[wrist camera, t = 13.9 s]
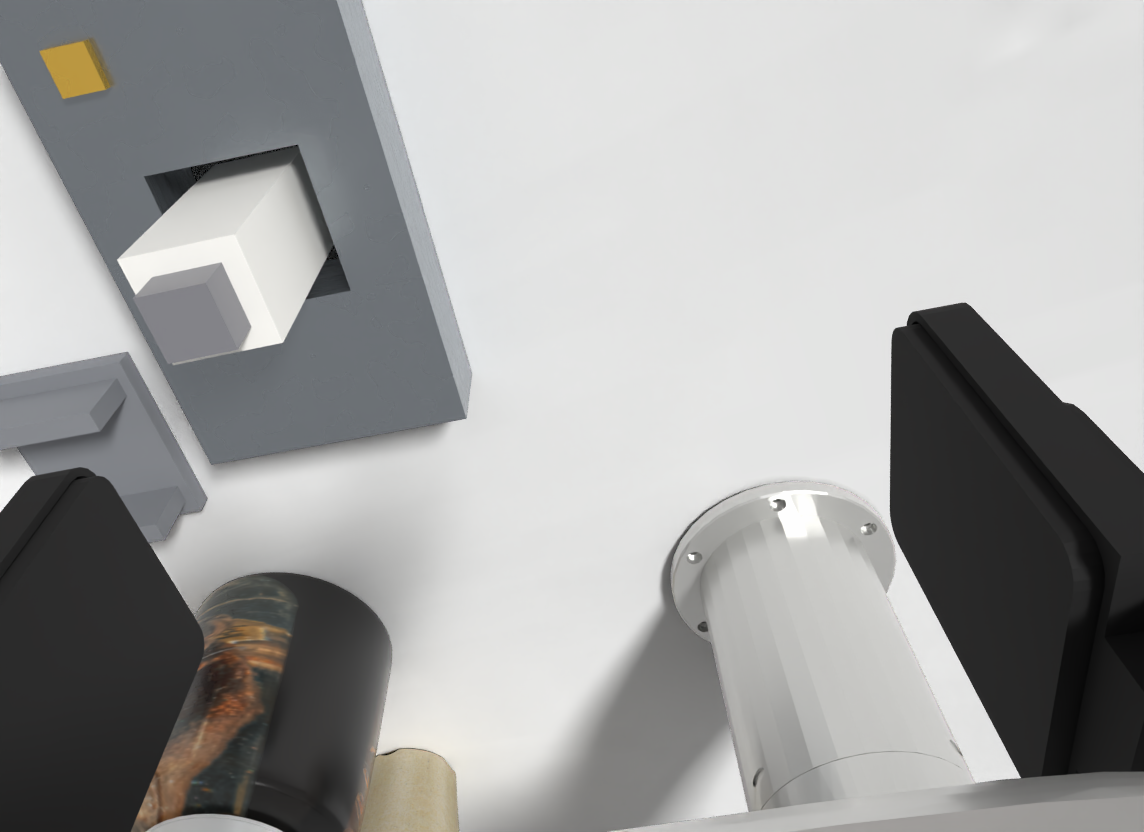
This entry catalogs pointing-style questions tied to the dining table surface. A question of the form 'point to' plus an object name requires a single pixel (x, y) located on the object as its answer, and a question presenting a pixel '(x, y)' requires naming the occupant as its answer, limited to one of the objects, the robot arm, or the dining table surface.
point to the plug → (230, 258)
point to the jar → (276, 713)
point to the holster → (101, 435)
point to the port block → (237, 128)
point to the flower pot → (411, 794)
